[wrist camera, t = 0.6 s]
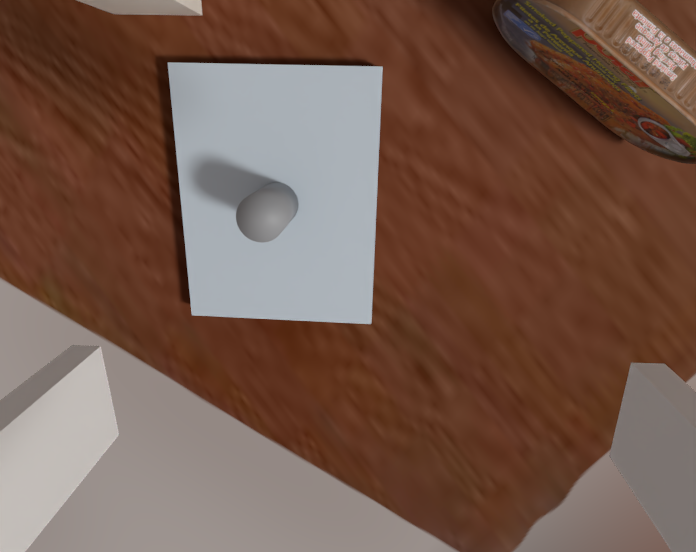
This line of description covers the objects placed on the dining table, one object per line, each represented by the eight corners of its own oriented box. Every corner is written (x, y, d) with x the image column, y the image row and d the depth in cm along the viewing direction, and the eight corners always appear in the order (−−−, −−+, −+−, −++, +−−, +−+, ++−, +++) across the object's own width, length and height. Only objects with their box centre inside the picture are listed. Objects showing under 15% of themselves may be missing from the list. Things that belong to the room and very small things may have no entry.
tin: (476, 20, 30) (511, -13, 22) (510, -27, 29) (559, -80, 21) (646, 161, 32) (734, 177, 24) (683, 122, 31) (787, 125, 23)
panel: (176, 64, 32) (128, 52, 26) (382, 68, 31) (383, 57, 25) (198, 307, 38) (163, 345, 32) (371, 316, 37) (369, 356, 31)
